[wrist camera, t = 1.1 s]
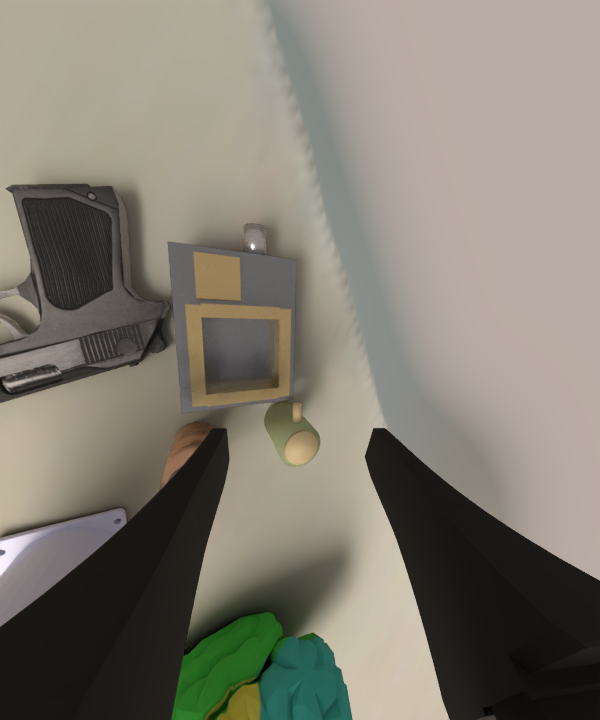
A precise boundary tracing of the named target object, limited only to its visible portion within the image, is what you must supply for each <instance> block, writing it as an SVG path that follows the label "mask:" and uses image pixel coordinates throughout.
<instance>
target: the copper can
mask: <svg viewBox="0 0 600 720" xmlns="http://www.w3.org/2000/svg"><path fill="white" fill-rule="evenodd" d="M212 429H213V427H212V426H210V425H208V424H206V423H192V424H189V425H186V426H185V427H183V428H182V429H181V430H179V432H178V433H177V434H176V436H175V438H174V442H173V445H172V448H171V451H170V454H169V457H168V461H167V464H166V467H165V470H164V473H163V477H162V480H161V483H160V490H161V489H162V488H163V487H164V486H165V485H166V483H167V482H168V481H169V480H170V479H171V478H172V477H173V476H174V475H175V474H176V473H177V471H178V470H179V469H180V468H181V467H182V466H183V465H184V463H185V462H186V461H187V460H188V459H189V457H190V456H191V455H192V454H193V453H194V451H195V450H196V449H197V448H198V446H199V445H200V444H201V443H202V441H203V440H204V439H205V437H206V436H207V435H208V434H209V432H210V431H211V430H212Z"/></svg>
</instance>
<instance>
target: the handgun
mask: <svg viewBox="0 0 600 720" xmlns="http://www.w3.org/2000/svg"><path fill="white" fill-rule="evenodd" d="M6 190H8V191H9V192H11V193H12V194H13V197H14V201H15V205H16V208H17V212H18V215H19V219H20V222H21V226H22V229H23V233H24V237H25V240H26V244H27V247H28V251H29V254H30V263H31V273H30V274H29V276H28V277H27V279H26V281H24V282H23V283H21V284H20V285H19V286H17V288H14V289H10V290H5V291H0V299H1V298H5V297H9V296H14V295H20V296H21V297H23V298H24V299H26V300H28V301H29V302H31V303H32V304H33V305H34V306H35V307H36V308H37V309H38V311H39V314H40V321H41V323H40V325H39V326H38V327H37V329H36V330H35V331H34V332H33V333H32V334H27V333H26V332H25V331H24V330H23V329H22V328H21V327H20V326H19V325H17V324H16V323H15V322H14V321H12V320H10V319H8V318H6V317H3V316H0V323H1V324H3V325H4V326H5V327H6V328H7V329H8V330H9V331H10V332H11V334H12V336H13V338H14V340H13V341H9V342H6V343H3V344H0V403H2V402H5V401H8V400H12V399H15V398H18V397H22V396H25V395H28V394H32V393H35V392H39V391H42V390H45V389H49V388H52V387H55V386H59V385H62V384H65V383H69V382H72V381H76V380H79V379H82V378H86V377H89V376H92V375H96V374H99V373H102V372H106V371H109V370H112V369H116V368H119V367H123V366H126V365H130V367H132V366H135V365H137V364H139V363H138V362H139V361H142V360H143V358H144V356H145V354H146V352H147V350H148V349H149V350H150V351H151V352H152V353H159V352H161V351H163V350H164V349H165V347H166V345H167V343H166V341H165V340H164V339H163V337H162V335H161V324H162V322H163V320H164V318H165V317H166V315H167V312H168V310H169V308H170V306H169V304H168V302H166V301H155V302H149V301H147V300H144V299H142V298H140V297H139V296H138V295H137V293H136V292H135V291H134V290H133V289H132V284H131V268H130V251H129V235H128V218H127V211H126V209H125V206H124V204H123V201H122V198H121V197H120V195H119V194H118V193H117V192H116V190H115V189H114V188H113V187H112V186H101V187H90V186H89V185H88V184H38V185H11V186H9V187H7V188H6Z"/></svg>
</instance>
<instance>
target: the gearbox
mask: <svg viewBox="0 0 600 720" xmlns="http://www.w3.org/2000/svg"><path fill="white" fill-rule="evenodd" d="M168 251H169V263H170V275H171V287H172V299H173V311H174V323H175V336H176V348H177V360H178V372H179V384H180V396H181V408H182V413H188V412H196V411H205V410H213V409H221V408H229V407H237V406H245V405H253V404H261V403H269V402H278V401H286V400H293V383H294V340H295V296H296V260H294V259H287V258H280V257H273V256H266V228H265V227H264V226H262V225H259V224H254V223H250V224H246V225H244V252H238V251H231V250H224V249H217V248H210V247H203V246H196V245H189V244H182V243H175V242H168Z"/></svg>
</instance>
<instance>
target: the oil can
mask: <svg viewBox="0 0 600 720" xmlns="http://www.w3.org/2000/svg"><path fill="white" fill-rule="evenodd" d="M264 423H265V427H266V429H267V431H268V433H269V435H270V437H271V439H272V441H273V443H274V445H275V447H276V449H277V452H278V454H279V456H280V458H281V460H282V461H283V462H284V463H285V464H286V465H288V466H292V467H298V466H302V465H304V464H306V463H308V462H309V461H310V460H312V459H313V458H314V456H315V455H316V454H317V452H318V450H319V446H320V437H319V434H318V432H317V431H316V430H315V429H314V428H313V427H312V425H311V424H310V423H309V422H308V421H307V420H306V419H305V418H304V417H303V416H302V403H300V402H295V403H293V405H292V404H290V403H288V402H279V403H276V404H274V405H273V406H271V407H270V408H269V409H268V411H267V412H266V415H265V418H264Z"/></svg>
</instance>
